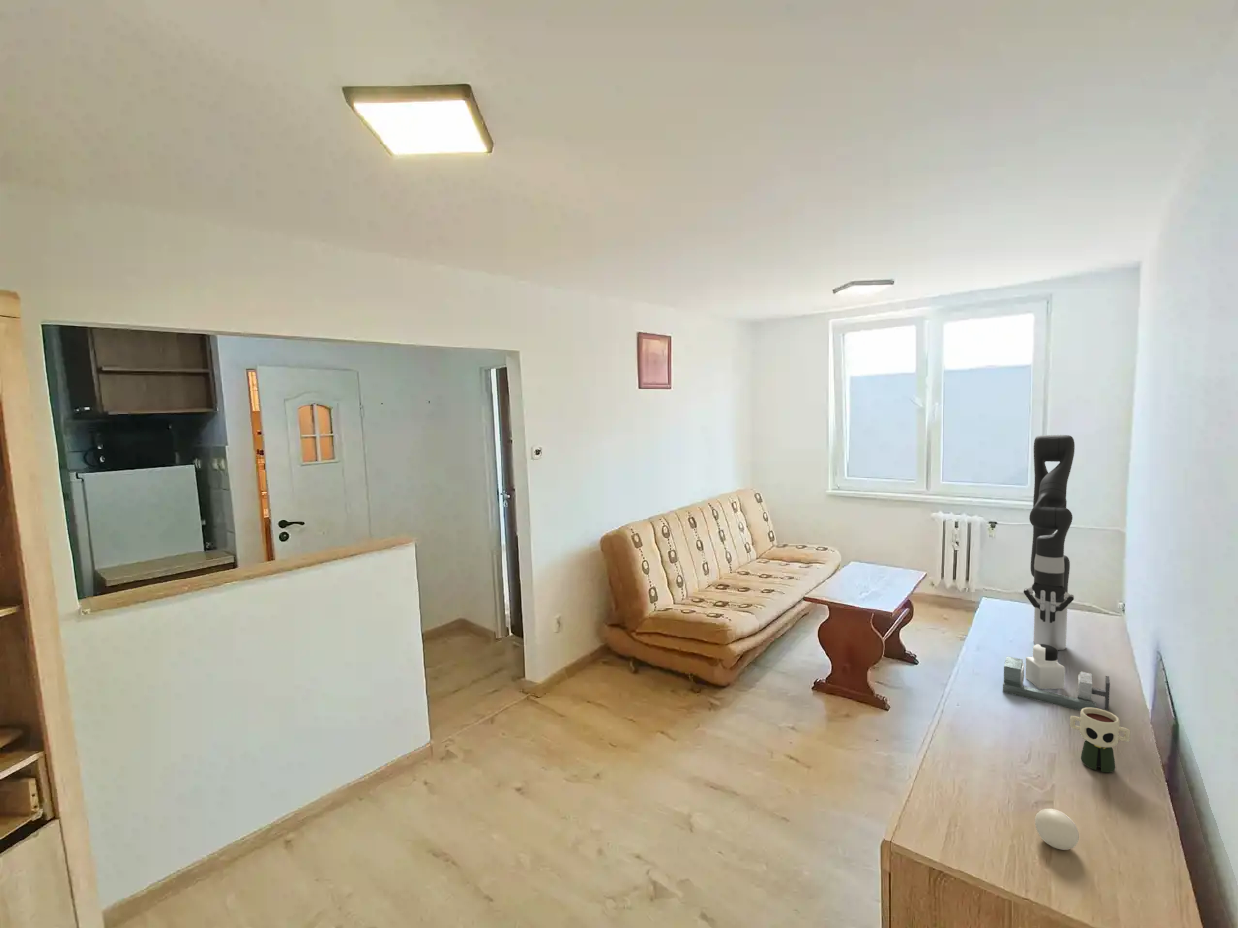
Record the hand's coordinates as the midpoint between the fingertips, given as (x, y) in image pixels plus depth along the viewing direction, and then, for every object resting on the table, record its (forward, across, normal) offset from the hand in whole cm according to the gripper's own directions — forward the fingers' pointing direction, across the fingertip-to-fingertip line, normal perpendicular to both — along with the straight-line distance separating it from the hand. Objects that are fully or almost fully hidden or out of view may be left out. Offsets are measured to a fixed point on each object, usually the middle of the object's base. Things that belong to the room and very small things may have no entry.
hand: (1047, 621), depth 178 cm
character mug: (+17, -12, +50) cm, 54 cm away
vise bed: (+17, -1, +17) cm, 24 cm away
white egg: (+17, -5, +85) cm, 87 cm away
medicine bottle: (+17, 0, +9) cm, 19 cm away
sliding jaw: (+17, -11, +16) cm, 26 cm away
